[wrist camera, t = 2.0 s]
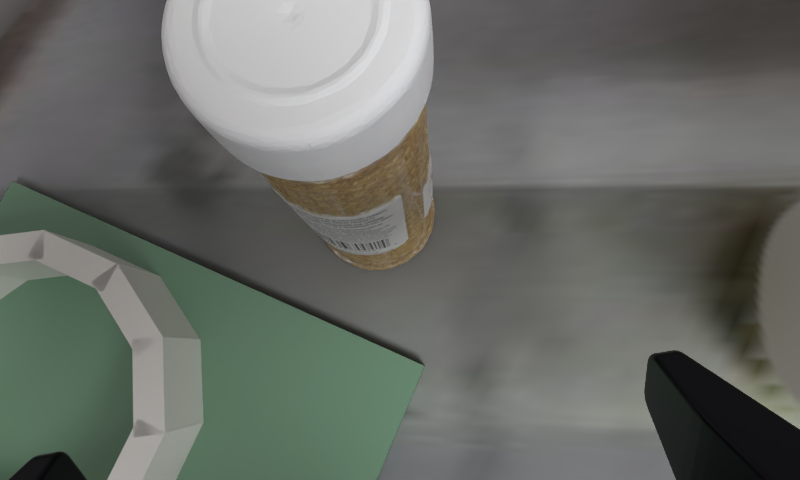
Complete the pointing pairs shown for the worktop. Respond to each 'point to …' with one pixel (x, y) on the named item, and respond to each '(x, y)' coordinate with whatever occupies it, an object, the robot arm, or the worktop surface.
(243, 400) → the practice green
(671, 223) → the worktop surface
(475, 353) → the worktop surface
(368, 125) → the sprinkles bottle
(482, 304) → the worktop surface
